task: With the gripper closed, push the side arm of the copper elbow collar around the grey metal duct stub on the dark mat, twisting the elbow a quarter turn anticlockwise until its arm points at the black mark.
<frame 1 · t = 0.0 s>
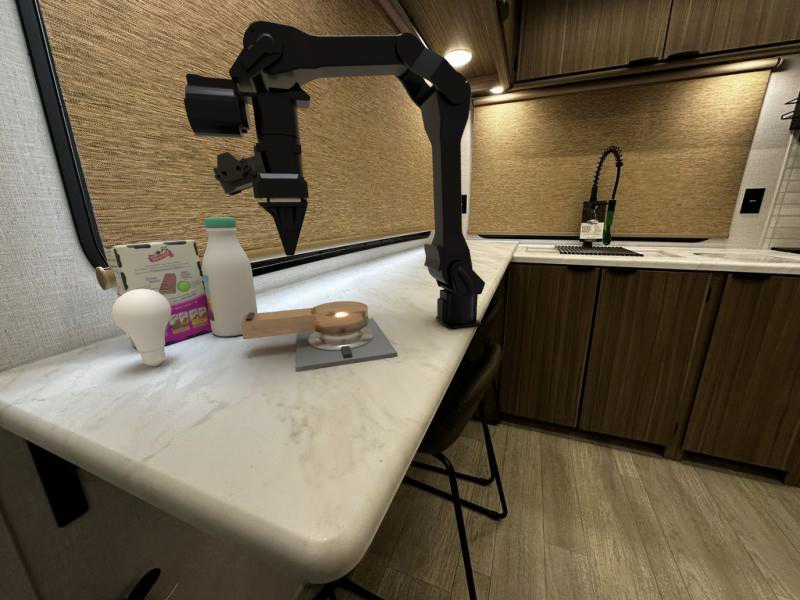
hand: (291, 252, 48), 15 cm above the worktop, tool pointing down, fingers open, 9 cm apart
mat: (341, 341, 51), on the worktop
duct: (341, 341, 51), resting on mat
milk bottle: (236, 331, 58), on the worktop
candy bar box: (175, 339, 54), on the worktop
lightbulb: (156, 366, 44), on the worktop
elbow: (309, 318, 49), point 4 cm above the worktop, hinge at 0.0°
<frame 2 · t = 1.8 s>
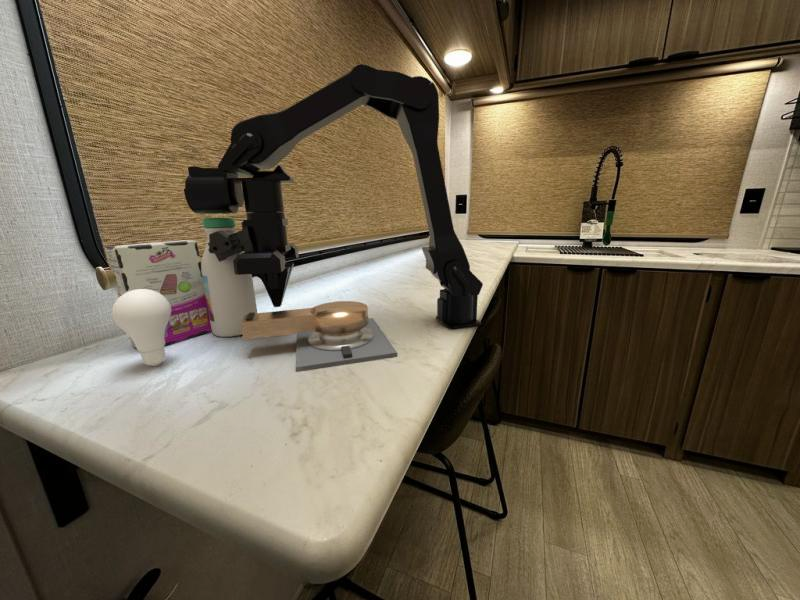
hand: (277, 306, 54), 5 cm above the worktop, tool pointing down, fingers closed
nothing on the worktop moved.
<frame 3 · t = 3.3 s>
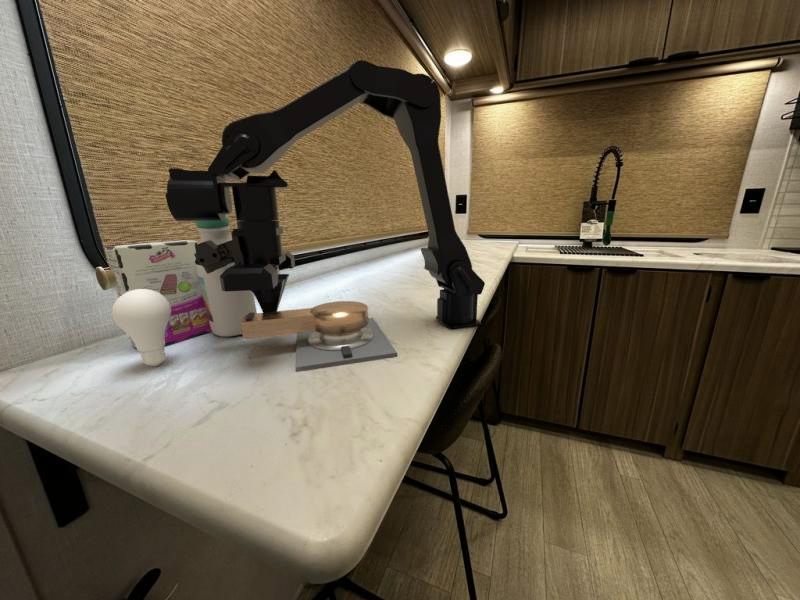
hand: (270, 321, 50), 4 cm above the worktop, tool pointing down, fingers closed
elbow: (309, 318, 49), point 4 cm above the worktop, hinge at 0.4°, touching gripper
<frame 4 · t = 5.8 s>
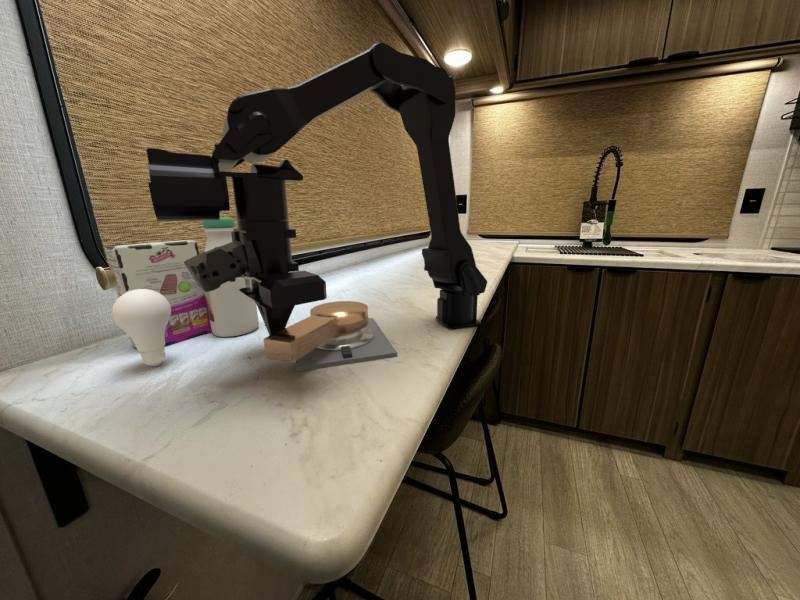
hand: (276, 340, 42), 4 cm above the worktop, tool pointing down, fingers closed
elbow: (322, 324, 46), point 4 cm above the worktop, hinge at 52.1°, touching gripper
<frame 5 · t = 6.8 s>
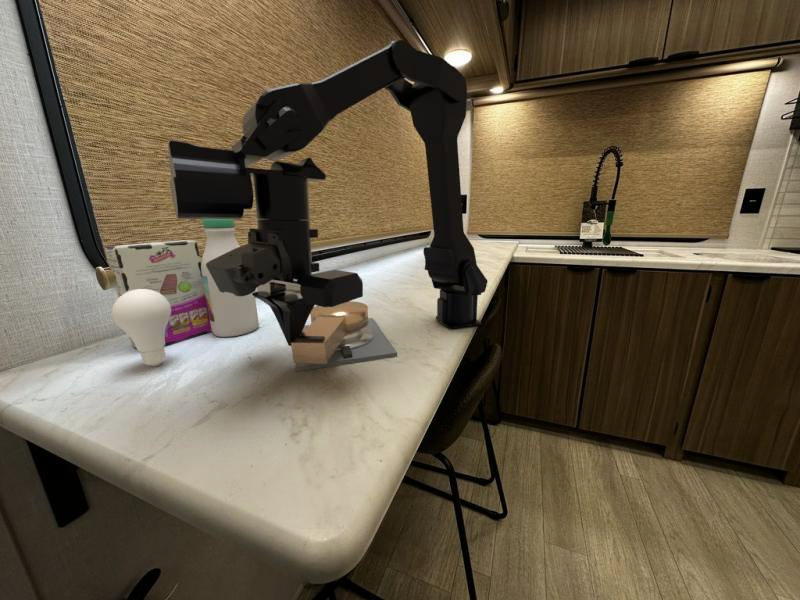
hand: (292, 345, 40), 4 cm above the worktop, tool pointing down, fingers closed
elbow: (331, 325, 46), point 4 cm above the worktop, hinge at 68.9°, touching gripper
everything else where it was.
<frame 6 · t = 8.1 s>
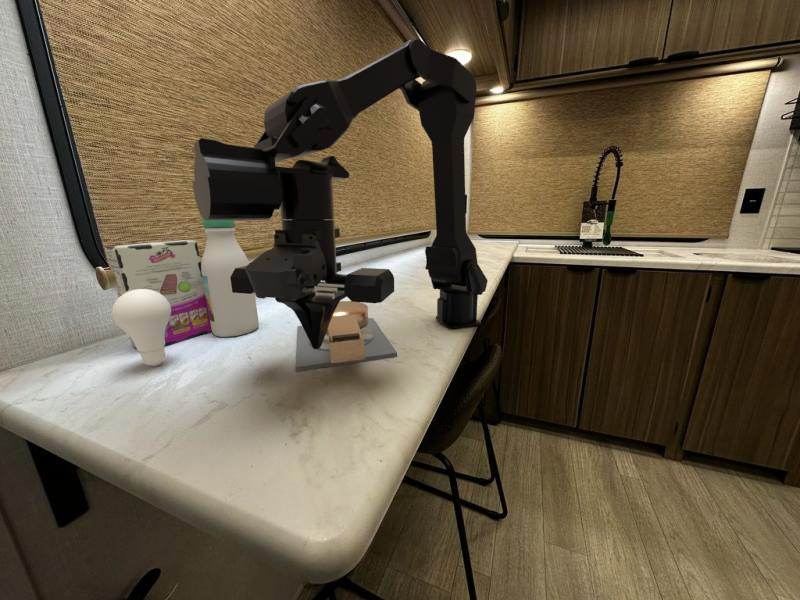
hand: (317, 348, 39), 4 cm above the worktop, tool pointing down, fingers closed
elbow: (341, 324, 46), point 4 cm above the worktop, hinge at 87.3°, touching gripper
everything else where it was.
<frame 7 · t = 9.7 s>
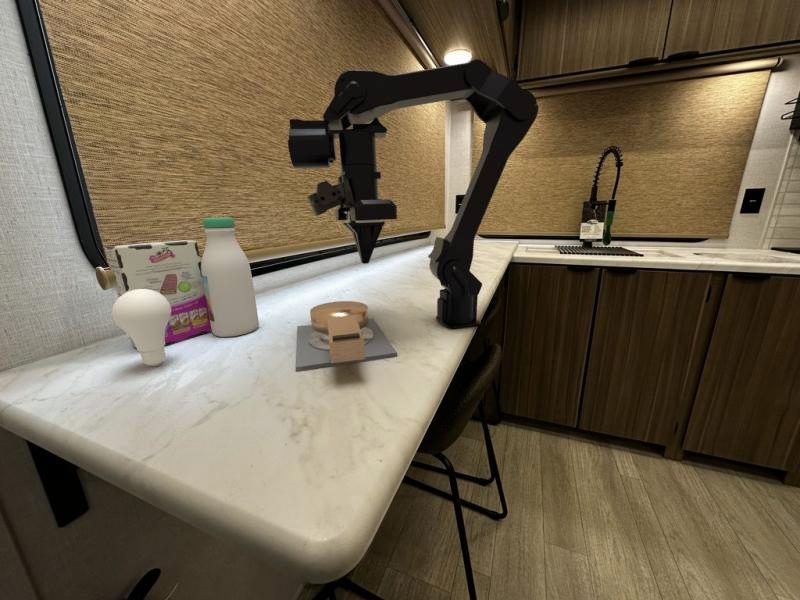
hand: (365, 263, 55), 12 cm above the worktop, tool pointing down, fingers closed
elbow: (341, 324, 46), point 4 cm above the worktop, hinge at 87.4°
everything else where it was.
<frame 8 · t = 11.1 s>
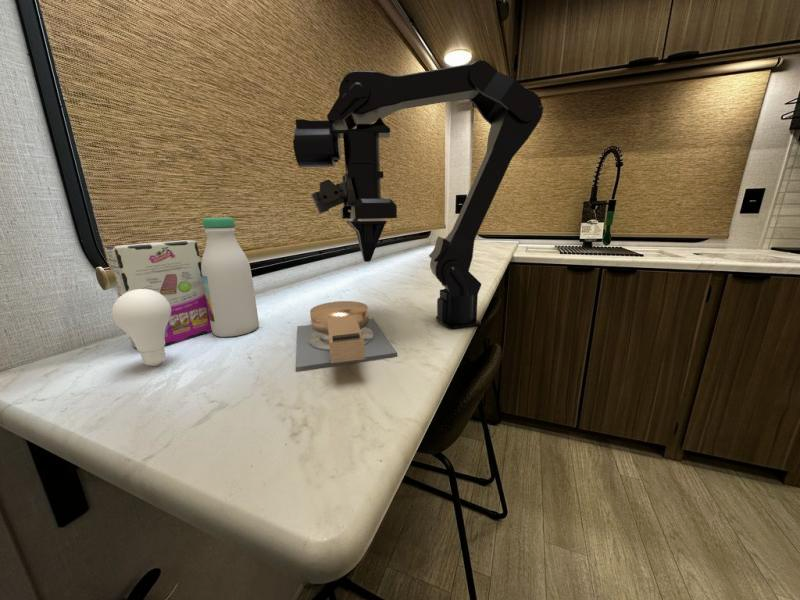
hand: (367, 261, 55), 12 cm above the worktop, tool pointing down, fingers closed
nothing on the worktop moved.
at the end: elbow at +87° (first picture: +0°) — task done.
